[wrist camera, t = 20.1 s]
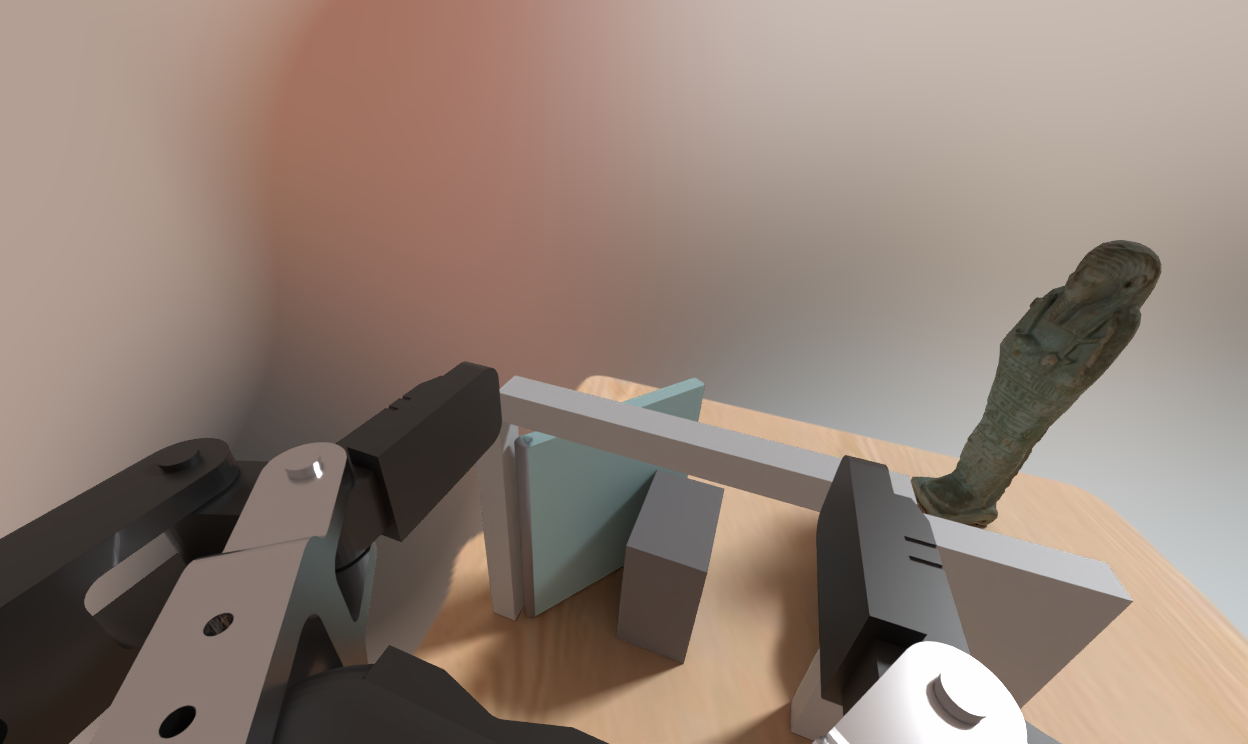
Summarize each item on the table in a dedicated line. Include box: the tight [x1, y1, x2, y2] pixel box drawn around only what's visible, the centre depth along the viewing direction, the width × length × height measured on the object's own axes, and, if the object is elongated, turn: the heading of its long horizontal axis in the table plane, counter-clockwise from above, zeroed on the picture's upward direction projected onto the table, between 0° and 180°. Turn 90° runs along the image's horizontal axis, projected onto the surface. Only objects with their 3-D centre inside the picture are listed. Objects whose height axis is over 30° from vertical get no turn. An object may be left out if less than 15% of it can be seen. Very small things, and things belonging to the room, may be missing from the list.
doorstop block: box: [616, 470, 724, 664], centre depth 36 cm, size 6×8×11 cm
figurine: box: [911, 240, 1161, 525], centre depth 44 cm, size 9×7×30 cm
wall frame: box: [476, 376, 1133, 741], centre depth 29 cm, size 32×2×22 cm, turn 71°
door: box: [514, 378, 705, 618], centre depth 37 cm, size 16×2×18 cm, turn 125°
